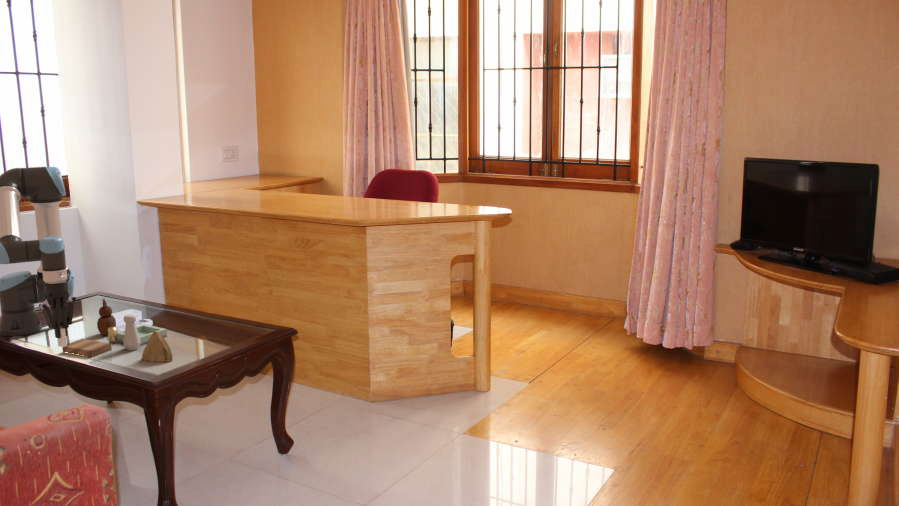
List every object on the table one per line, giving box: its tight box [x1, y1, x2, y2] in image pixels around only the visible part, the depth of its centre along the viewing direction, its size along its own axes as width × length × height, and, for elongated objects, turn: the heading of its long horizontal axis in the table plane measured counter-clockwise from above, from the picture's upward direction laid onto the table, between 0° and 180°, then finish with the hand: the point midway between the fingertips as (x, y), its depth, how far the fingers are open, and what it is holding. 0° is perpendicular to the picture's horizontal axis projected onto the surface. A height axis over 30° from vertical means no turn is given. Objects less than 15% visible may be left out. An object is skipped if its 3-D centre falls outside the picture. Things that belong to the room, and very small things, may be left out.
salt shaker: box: [123, 313, 141, 351], centre depth 281 cm, size 6×6×13 cm
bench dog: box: [107, 326, 119, 345], centre depth 288 cm, size 3×3×6 cm
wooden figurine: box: [96, 298, 117, 337], centre depth 297 cm, size 7×6×15 cm
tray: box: [117, 323, 168, 347], centre depth 294 cm, size 13×13×3 cm
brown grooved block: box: [62, 338, 113, 358], centre depth 279 cm, size 14×9×3 cm, turn 69°
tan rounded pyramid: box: [140, 331, 173, 363], centre depth 269 cm, size 11×9×10 cm
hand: (62, 345), depth 269 cm, fingers closed
